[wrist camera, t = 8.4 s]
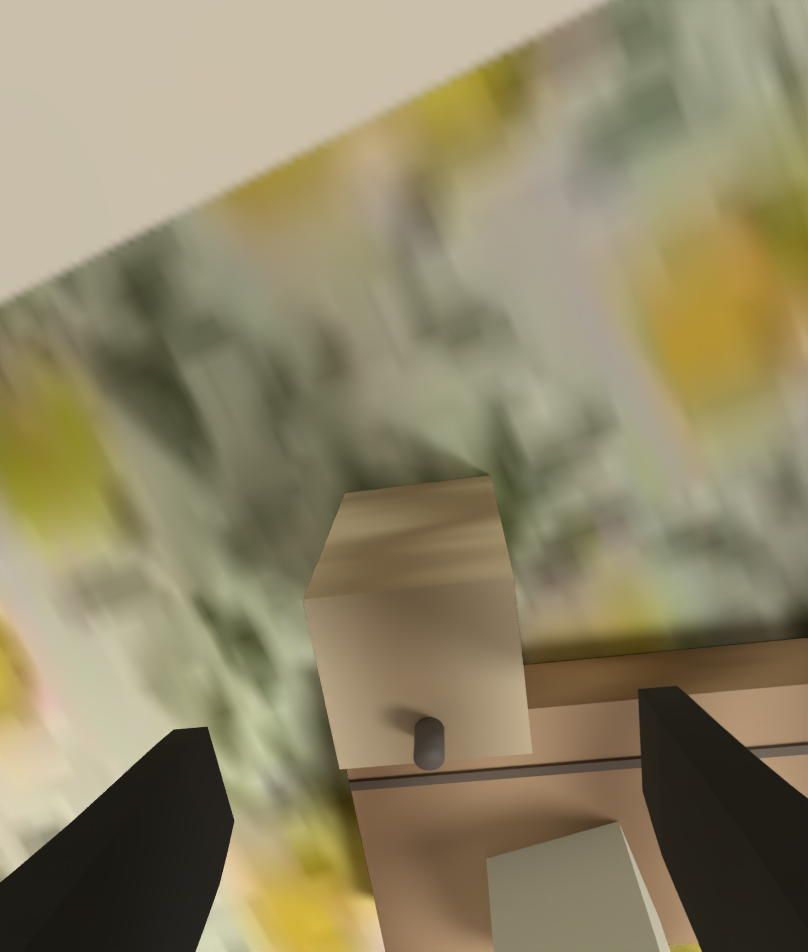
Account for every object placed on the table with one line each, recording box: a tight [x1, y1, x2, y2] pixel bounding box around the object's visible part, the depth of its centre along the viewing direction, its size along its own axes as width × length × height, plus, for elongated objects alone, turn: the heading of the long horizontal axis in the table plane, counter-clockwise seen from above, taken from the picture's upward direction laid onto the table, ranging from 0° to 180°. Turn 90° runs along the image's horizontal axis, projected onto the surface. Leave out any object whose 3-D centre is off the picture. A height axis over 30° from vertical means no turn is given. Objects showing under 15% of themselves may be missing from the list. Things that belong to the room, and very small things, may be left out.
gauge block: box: [303, 475, 533, 771], centre depth 15 cm, size 4×4×7 cm
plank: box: [347, 638, 808, 952], centre depth 20 cm, size 16×9×2 cm, turn 98°
